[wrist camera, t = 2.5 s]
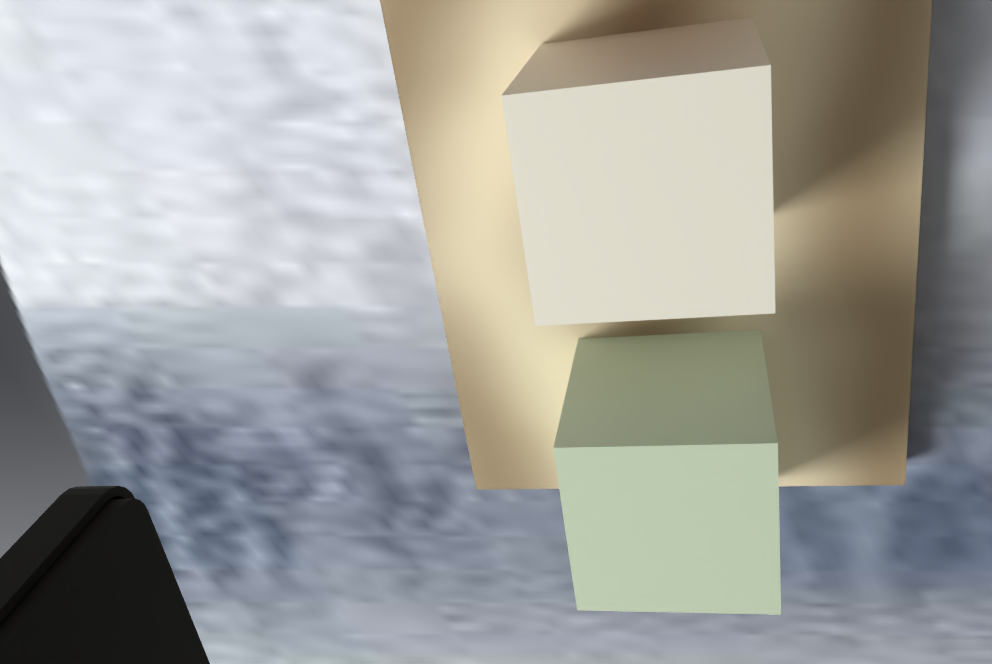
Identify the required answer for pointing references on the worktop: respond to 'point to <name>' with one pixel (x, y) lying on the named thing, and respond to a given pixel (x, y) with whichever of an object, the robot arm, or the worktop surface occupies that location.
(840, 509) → the worktop surface
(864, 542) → the worktop surface
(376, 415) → the worktop surface
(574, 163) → the off-white cube
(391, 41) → the base board
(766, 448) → the brick
